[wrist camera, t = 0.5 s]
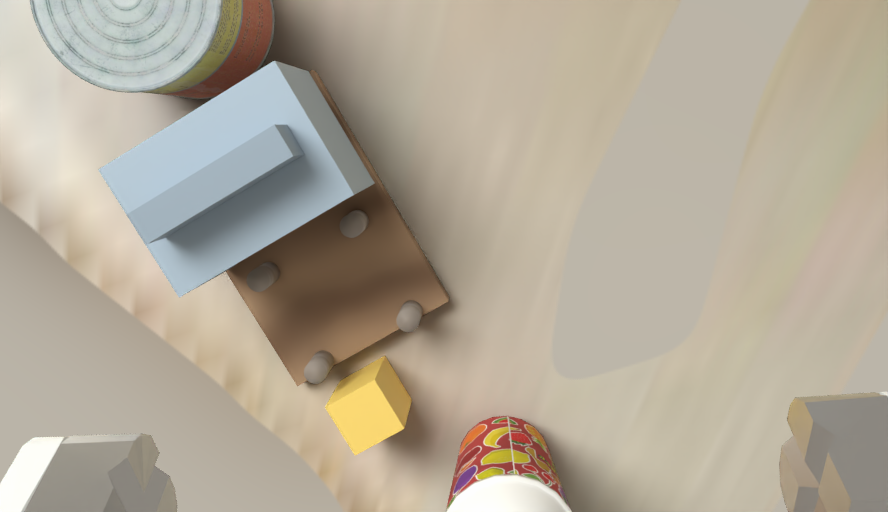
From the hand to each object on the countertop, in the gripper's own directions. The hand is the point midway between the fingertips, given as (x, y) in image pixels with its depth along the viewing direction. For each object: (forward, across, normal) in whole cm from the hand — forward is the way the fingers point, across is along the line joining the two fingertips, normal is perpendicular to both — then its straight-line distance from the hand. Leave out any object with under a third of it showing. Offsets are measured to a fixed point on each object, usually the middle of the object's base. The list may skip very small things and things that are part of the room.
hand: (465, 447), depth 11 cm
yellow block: (+38, -10, -35) cm, 53 cm away
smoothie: (+36, 0, -40) cm, 54 cm away
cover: (+44, -16, -19) cm, 50 cm away
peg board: (+44, -14, -24) cm, 51 cm away
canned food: (+50, -20, -10) cm, 55 cm away
